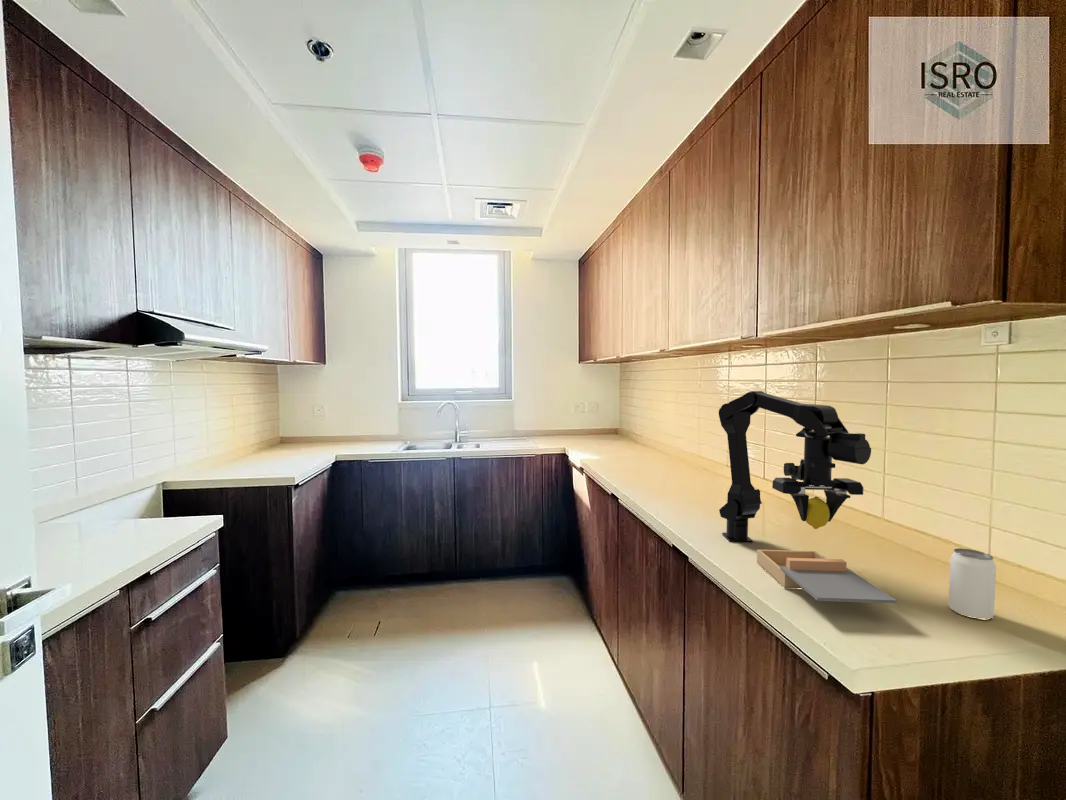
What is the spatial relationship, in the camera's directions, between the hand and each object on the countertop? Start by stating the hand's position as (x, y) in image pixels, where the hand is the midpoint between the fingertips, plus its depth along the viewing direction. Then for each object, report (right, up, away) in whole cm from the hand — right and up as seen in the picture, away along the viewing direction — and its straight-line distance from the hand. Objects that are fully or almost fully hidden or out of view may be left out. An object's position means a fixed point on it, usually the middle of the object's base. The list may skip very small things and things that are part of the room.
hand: (815, 520), depth 109 cm
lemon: (0, -2, 0) cm, 2 cm away
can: (+18, -13, -20) cm, 30 cm away
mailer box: (-6, -12, -3) cm, 14 cm away
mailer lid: (-7, -9, -16) cm, 20 cm away
